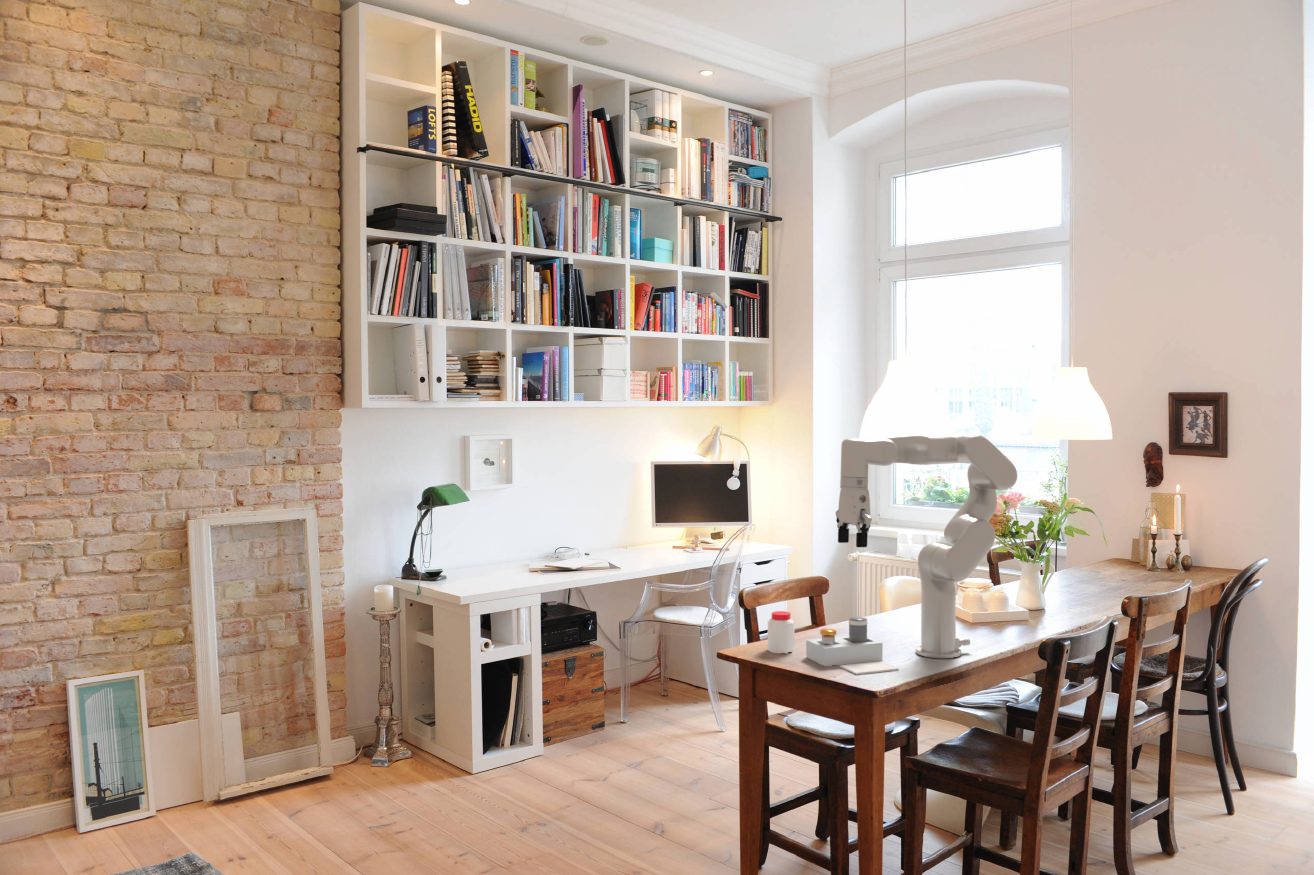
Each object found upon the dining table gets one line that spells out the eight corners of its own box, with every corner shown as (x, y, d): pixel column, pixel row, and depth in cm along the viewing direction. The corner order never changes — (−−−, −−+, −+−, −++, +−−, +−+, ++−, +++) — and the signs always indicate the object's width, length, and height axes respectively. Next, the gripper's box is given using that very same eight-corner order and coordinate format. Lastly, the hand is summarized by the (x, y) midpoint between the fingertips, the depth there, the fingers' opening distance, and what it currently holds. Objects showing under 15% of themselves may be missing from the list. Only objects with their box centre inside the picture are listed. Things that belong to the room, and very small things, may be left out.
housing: (862, 651, 294) (861, 634, 294) (882, 660, 284) (882, 642, 283) (806, 657, 288) (806, 639, 288) (825, 666, 278) (825, 648, 277)
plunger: (831, 649, 287) (831, 628, 287) (839, 652, 283) (839, 631, 282) (817, 650, 285) (817, 629, 285) (825, 654, 281) (825, 632, 281)
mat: (881, 662, 281) (881, 661, 281) (898, 670, 273) (898, 668, 273) (840, 667, 277) (840, 665, 277) (856, 674, 269) (856, 673, 269)
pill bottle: (792, 647, 300) (791, 610, 300) (796, 653, 293) (796, 615, 292) (766, 647, 300) (765, 610, 300) (769, 653, 292) (769, 616, 292)
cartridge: (861, 654, 291) (861, 616, 290) (871, 658, 286) (870, 620, 285) (845, 656, 289) (845, 617, 288) (854, 660, 284) (854, 621, 284)
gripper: (882, 485, 275) (880, 548, 275) (849, 481, 291) (848, 540, 291) (858, 485, 272) (856, 549, 272) (826, 481, 288) (824, 541, 289)
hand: (852, 544), depth 282 cm, fingers open, 9 cm apart
